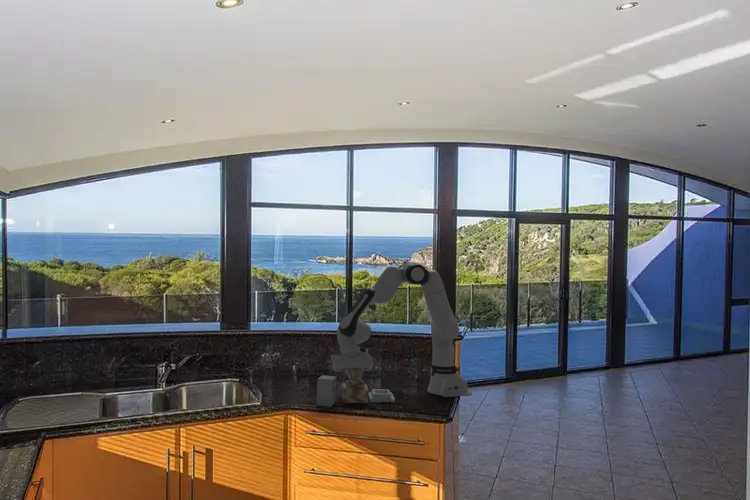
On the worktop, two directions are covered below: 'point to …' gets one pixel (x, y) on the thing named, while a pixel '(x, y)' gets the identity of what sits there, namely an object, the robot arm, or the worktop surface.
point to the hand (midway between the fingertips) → (355, 377)
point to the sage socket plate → (381, 396)
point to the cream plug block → (355, 377)
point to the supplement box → (326, 390)
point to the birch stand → (354, 393)
